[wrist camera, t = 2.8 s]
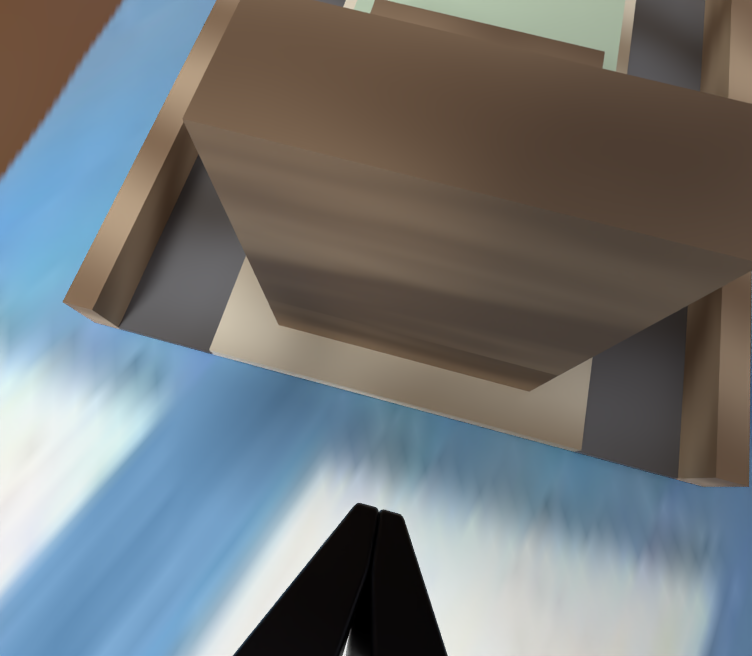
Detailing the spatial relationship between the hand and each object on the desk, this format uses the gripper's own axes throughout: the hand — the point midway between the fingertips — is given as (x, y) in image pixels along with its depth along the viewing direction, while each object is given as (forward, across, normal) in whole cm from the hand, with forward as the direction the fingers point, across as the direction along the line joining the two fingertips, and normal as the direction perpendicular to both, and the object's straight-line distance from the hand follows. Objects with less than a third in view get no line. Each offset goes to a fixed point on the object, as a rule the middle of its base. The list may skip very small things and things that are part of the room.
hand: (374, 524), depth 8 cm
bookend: (+13, 0, -3) cm, 13 cm away
